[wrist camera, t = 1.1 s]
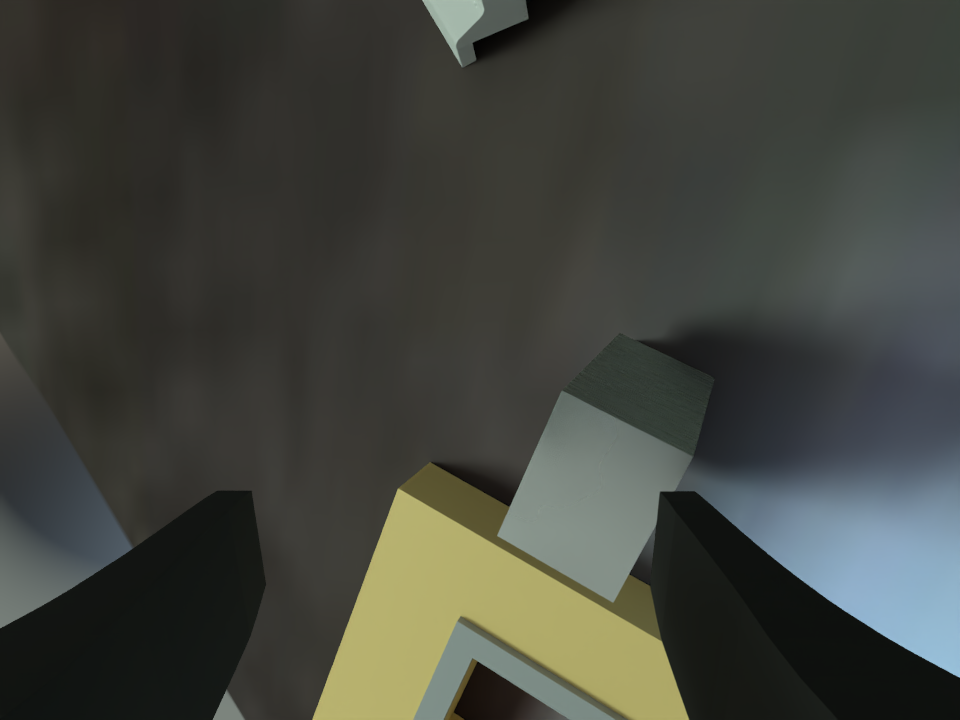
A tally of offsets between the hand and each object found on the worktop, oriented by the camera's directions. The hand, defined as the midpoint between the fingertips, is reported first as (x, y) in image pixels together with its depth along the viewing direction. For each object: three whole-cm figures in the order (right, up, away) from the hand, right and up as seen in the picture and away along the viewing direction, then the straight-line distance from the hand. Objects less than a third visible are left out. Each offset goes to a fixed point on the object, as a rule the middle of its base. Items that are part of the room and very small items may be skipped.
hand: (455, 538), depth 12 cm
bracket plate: (+2, -10, +15) cm, 18 cm away
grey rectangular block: (+6, +2, +10) cm, 12 cm away
